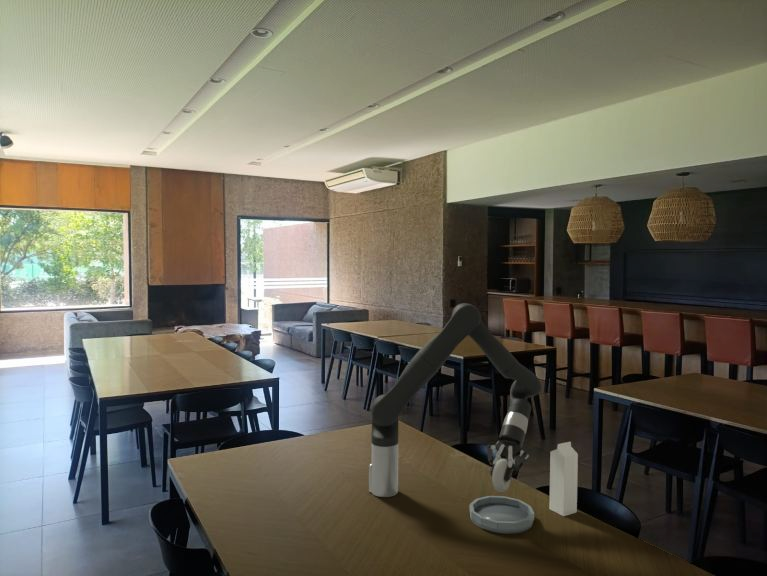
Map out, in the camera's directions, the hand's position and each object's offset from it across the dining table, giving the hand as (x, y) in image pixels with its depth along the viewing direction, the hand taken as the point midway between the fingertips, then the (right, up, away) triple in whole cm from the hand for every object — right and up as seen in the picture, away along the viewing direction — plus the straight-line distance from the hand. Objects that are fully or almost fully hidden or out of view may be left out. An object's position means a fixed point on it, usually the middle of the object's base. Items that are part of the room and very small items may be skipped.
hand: (499, 478), depth 170 cm
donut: (+1, -5, +2) cm, 5 cm away
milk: (+22, -13, +8) cm, 27 cm away
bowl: (+1, -13, +2) cm, 13 cm away
